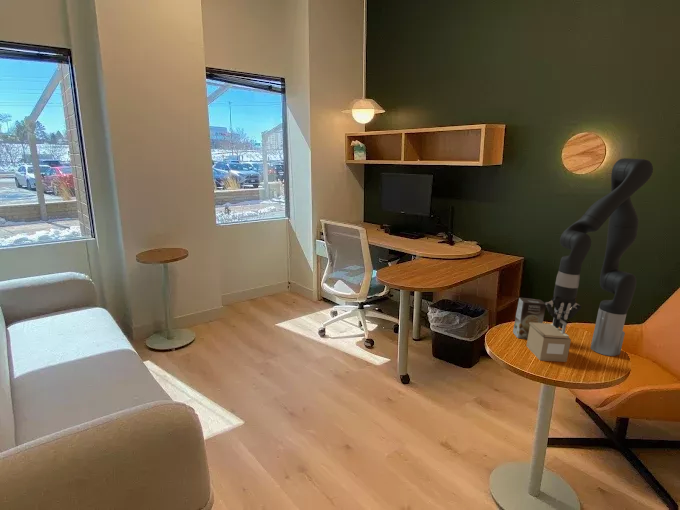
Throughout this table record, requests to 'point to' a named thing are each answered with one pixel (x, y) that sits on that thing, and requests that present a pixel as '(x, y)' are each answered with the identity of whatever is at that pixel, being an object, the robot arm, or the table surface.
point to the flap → (550, 329)
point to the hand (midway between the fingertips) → (558, 327)
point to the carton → (548, 346)
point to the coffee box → (528, 316)
